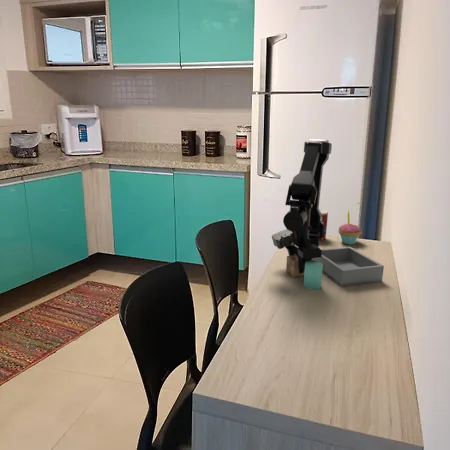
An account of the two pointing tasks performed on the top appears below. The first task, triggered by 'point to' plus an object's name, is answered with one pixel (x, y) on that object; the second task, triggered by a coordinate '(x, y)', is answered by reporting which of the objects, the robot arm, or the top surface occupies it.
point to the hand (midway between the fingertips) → (297, 269)
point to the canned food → (324, 220)
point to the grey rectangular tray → (349, 266)
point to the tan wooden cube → (293, 266)
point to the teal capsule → (313, 274)
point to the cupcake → (349, 232)
